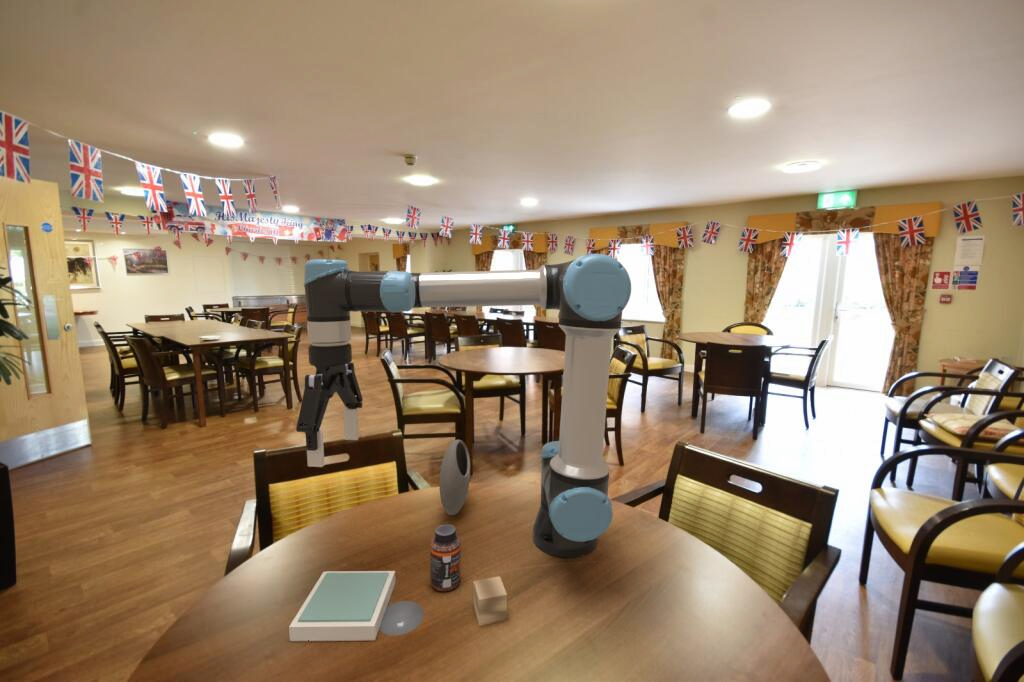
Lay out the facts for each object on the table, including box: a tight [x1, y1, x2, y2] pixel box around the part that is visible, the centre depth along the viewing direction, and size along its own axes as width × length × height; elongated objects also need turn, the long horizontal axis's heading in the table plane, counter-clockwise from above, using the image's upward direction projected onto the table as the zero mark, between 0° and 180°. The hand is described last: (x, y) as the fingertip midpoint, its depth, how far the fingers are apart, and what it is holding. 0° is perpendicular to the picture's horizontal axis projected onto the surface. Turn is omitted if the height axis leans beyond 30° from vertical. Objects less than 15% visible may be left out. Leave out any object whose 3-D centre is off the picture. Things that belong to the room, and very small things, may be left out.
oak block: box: [472, 576, 508, 626], centre depth 78 cm, size 5×5×5 cm
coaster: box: [378, 600, 424, 636], centre depth 77 cm, size 8×8×1 cm
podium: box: [288, 570, 396, 642], centre depth 78 cm, size 14×14×3 cm
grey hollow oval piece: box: [439, 439, 471, 516], centre depth 113 cm, size 18×7×19 cm, turn 176°
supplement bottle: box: [429, 524, 462, 592], centre depth 85 cm, size 6×6×11 cm
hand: (335, 451), depth 84 cm, fingers open, 13 cm apart
